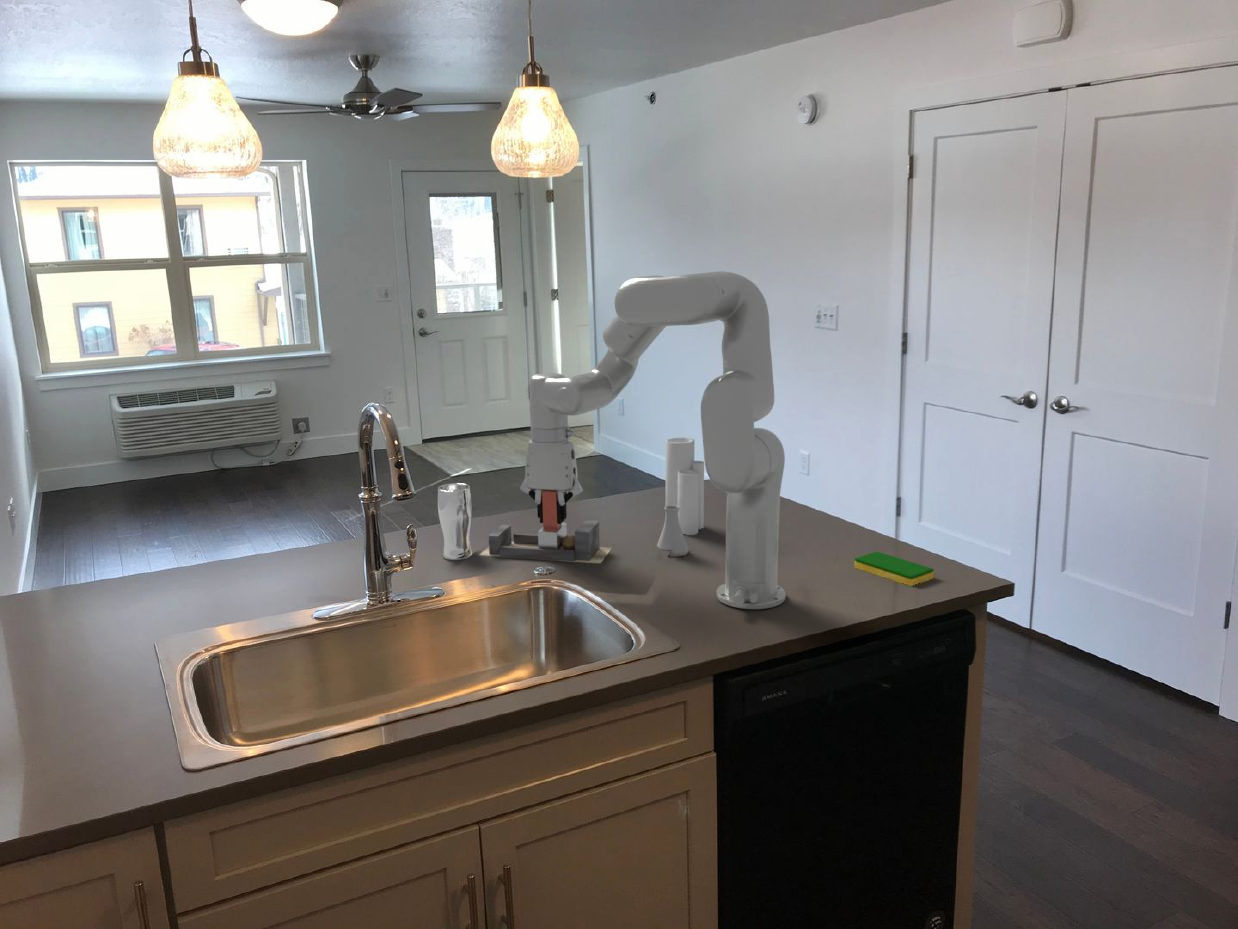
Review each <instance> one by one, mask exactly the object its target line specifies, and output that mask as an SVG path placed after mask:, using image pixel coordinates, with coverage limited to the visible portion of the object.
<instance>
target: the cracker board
mask: <svg viewBox="0 0 1238 929" xmlns="http://www.w3.org/2000/svg"><path fill="white" fill-rule="evenodd" d="M574 536H575V550H564V549H563V550H561V549H546V548H539V546H538V533H536V534H535V533H523V532H522V533H521V532H519V533H517V532H515V533H513V535H512V525H511V524H501V525H499V527H498V528H496V529H495V530H494V531H493V532H492V533H490V534H489V535H488V546H487V548H485V549H484V550H483V551H482V552H480V554H478V556H483V557H498V558H512V559H513V558H514V559H527V560H542V561H544V560H545V561H556V562H557V561H558V562H559V561H560V562H572V563H584V564H585V563H587V564H602V562H603V561H604V560H605V558H606V557H607V556H608V554H609V553H610V551H611V550H612V549H613V547H605V546H600V545H601V544H600V521H599V520H584V521H583V522H582V523H581V524H580V525H579V526H578V528H576V529H575V531H574ZM512 537H513V541H512Z"/></svg>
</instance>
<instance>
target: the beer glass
mask: <svg viewBox="0 0 1238 929" xmlns="http://www.w3.org/2000/svg"><path fill="white" fill-rule="evenodd" d="M472 506H473V505H472V495H471V486H470V485H469V484H467V483H459V482H458V483H457V482H456V483H455V482H454V483H446V484H442V485H439V486H438V487H437V512H438V517H439V522H440V527H441V530H442V534H443V551H442V556H443V558H444V559H445V560H447V561H462V560H466V559H469V558H470V557H471V556H472V555H473V552H472V547H471V542H470V533H471V531H470V530H471V524H472V523H471V522H472V515H473V514H472V513H473V507H472Z"/></svg>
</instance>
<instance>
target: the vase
mask: <svg viewBox="0 0 1238 929" xmlns="http://www.w3.org/2000/svg"><path fill="white" fill-rule="evenodd" d="M664 442H665V450H664V451H665V506H668V505H676V506H679V510H678V518H679V524H680V527H681V530H682V533H683V534H686V535H685V536H695V535H698V534H699V530H702V529H701V528H703V529H704V526H705V525H704V523H705V522H704V518H705V517H704V514H705V500H704V499H705V497H704V496H705V461H702V460H695V439H694V438H690V437H671V438H670V437H669V438H667V439H665V441H664ZM694 534H695V535H694Z"/></svg>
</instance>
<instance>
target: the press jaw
mask: <svg viewBox="0 0 1238 929" xmlns="http://www.w3.org/2000/svg"><path fill="white" fill-rule="evenodd" d="M558 502H559V499H558V492H557V491H554V490H543V491H542V503H543V523H542V527H541V528H540V529H539V530H538V531H537V534H538V546H539V548H546V549H561V550H563V549H564V548H563V546H562V541H563V539H564V537H565V536H567V535H568V530H567V529H568V528H567V527H568V526H567V522H562V523H561V524H558V523H557V505H558Z"/></svg>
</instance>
